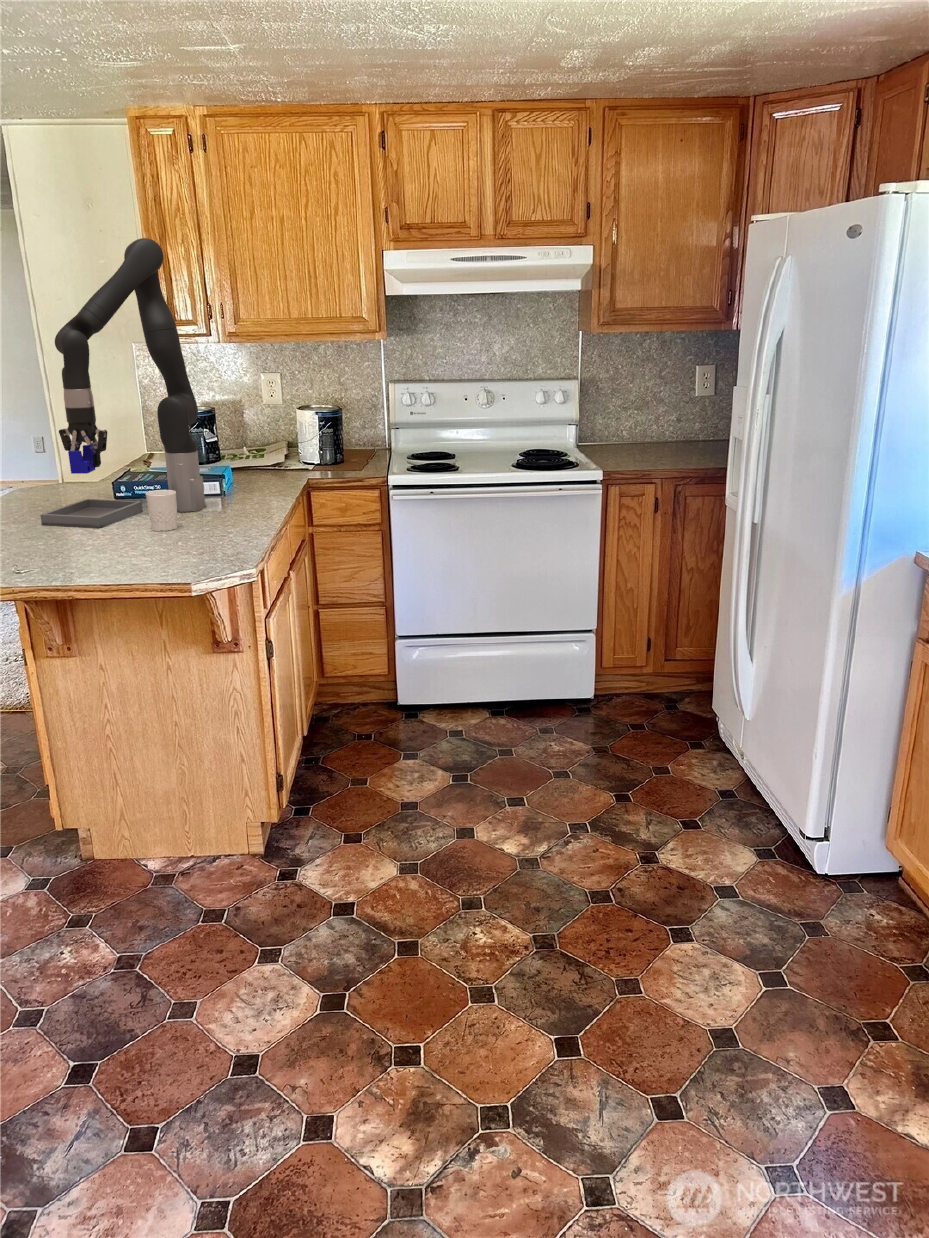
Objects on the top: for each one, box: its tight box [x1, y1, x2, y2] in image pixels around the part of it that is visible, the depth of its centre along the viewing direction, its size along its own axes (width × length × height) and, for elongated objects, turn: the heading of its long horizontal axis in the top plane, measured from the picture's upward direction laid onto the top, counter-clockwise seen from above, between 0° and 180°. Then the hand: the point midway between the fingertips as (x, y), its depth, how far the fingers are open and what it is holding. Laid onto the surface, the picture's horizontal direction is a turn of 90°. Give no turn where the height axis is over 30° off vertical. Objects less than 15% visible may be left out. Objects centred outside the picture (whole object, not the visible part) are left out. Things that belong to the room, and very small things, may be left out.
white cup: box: [145, 489, 178, 532], centre depth 251 cm, size 8×8×10 cm
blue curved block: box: [67, 444, 96, 475], centre depth 258 cm, size 12×4×6 cm, turn 1°
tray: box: [40, 498, 144, 529], centre depth 264 cm, size 18×22×3 cm
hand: (87, 466), depth 260 cm, fingers closed on blue curved block, 5 cm apart
